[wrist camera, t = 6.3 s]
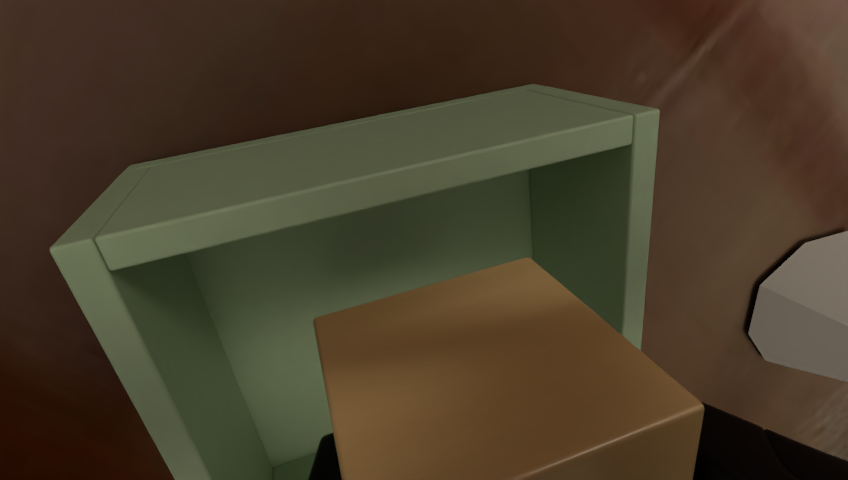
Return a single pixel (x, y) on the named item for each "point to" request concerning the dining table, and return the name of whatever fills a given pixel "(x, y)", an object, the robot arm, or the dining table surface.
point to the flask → (806, 310)
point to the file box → (344, 253)
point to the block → (499, 387)
